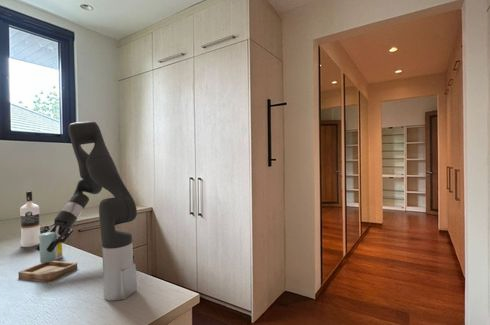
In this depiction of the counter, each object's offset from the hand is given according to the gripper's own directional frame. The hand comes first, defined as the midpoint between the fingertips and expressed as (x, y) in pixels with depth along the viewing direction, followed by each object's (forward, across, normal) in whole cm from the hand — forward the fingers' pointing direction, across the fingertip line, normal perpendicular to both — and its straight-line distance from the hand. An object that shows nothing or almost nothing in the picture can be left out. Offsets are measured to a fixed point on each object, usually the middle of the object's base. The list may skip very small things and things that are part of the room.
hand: (43, 250), depth 104 cm
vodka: (-12, -47, +27) cm, 55 cm away
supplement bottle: (-3, -14, +18) cm, 23 cm away
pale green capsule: (+2, 0, +5) cm, 5 cm away
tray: (+6, 0, +8) cm, 10 cm away
